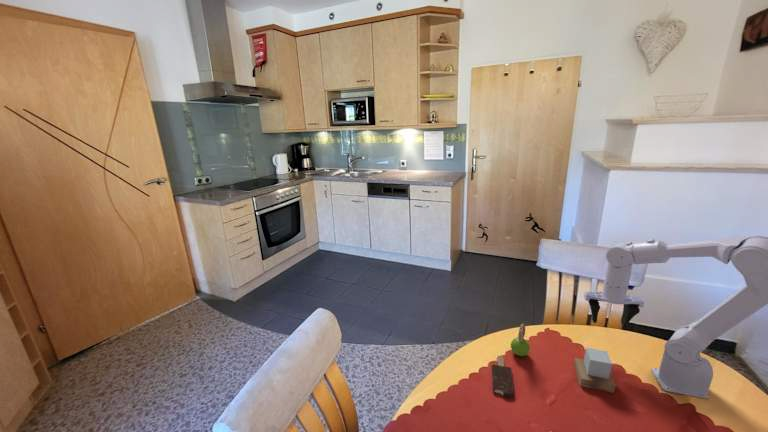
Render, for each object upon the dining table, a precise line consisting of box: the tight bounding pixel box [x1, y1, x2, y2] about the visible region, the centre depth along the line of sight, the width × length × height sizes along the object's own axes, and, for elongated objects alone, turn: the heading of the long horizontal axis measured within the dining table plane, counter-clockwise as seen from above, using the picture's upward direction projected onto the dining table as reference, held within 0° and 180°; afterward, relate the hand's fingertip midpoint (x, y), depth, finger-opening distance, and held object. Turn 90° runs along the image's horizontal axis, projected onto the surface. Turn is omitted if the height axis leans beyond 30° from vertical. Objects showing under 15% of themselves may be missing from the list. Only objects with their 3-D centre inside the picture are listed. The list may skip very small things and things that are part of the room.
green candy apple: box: [510, 323, 531, 357], centre depth 97 cm, size 5×6×12 cm
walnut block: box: [573, 357, 617, 394], centre depth 89 cm, size 8×8×3 cm
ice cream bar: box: [491, 355, 515, 399], centre depth 91 cm, size 5×2×15 cm
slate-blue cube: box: [583, 347, 613, 379], centre depth 88 cm, size 5×5×5 cm
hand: (608, 322), depth 97 cm, fingers open, 7 cm apart
